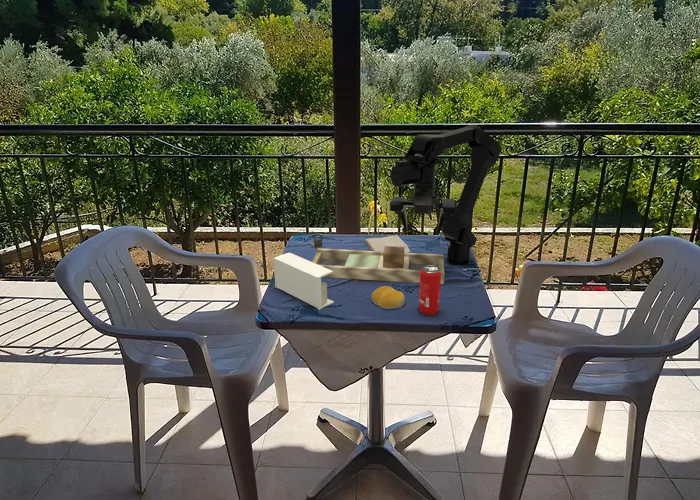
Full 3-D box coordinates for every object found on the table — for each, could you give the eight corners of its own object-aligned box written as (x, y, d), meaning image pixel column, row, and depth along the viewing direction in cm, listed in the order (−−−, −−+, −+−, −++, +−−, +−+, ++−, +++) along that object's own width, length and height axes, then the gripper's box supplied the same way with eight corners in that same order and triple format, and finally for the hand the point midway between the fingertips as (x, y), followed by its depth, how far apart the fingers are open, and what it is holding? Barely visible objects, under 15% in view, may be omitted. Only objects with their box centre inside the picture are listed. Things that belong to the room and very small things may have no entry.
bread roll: (390, 313, 131) (390, 300, 130) (366, 301, 138) (366, 288, 136) (412, 303, 136) (412, 290, 135) (388, 292, 143) (388, 279, 141)
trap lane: (442, 265, 160) (443, 254, 158) (443, 284, 147) (444, 273, 146) (317, 258, 165) (317, 248, 164) (308, 276, 152) (307, 265, 151)
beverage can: (416, 306, 134) (418, 265, 130) (435, 306, 135) (438, 264, 130) (420, 316, 129) (423, 273, 125) (440, 315, 130) (443, 272, 125)
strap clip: (309, 244, 178) (308, 233, 176) (317, 243, 179) (316, 231, 177) (319, 252, 171) (318, 241, 169) (327, 251, 172) (326, 239, 170)
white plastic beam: (334, 303, 137) (333, 271, 133) (318, 310, 133) (317, 277, 129) (287, 280, 150) (286, 251, 146) (272, 286, 146) (270, 256, 143)
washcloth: (378, 263, 162) (378, 254, 161) (363, 244, 178) (363, 235, 177) (413, 260, 165) (414, 251, 164) (396, 241, 181) (396, 233, 180)
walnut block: (404, 260, 157) (404, 247, 155) (403, 268, 151) (403, 254, 150) (384, 259, 158) (384, 246, 156) (382, 267, 152) (383, 253, 150)
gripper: (388, 187, 137) (387, 241, 143) (458, 189, 134) (454, 244, 140) (392, 177, 148) (391, 228, 153) (458, 179, 145) (454, 231, 150)
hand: (422, 233), depth 149 cm, fingers open, 9 cm apart
